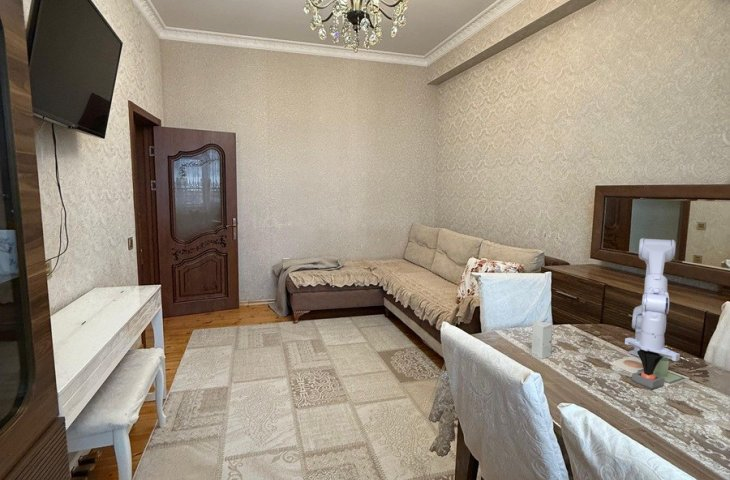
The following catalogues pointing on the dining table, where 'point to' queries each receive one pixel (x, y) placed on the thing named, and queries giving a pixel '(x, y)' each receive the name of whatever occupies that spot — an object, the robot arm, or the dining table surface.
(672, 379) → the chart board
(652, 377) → the button
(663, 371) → the green cup
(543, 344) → the skincare box
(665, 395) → the dining table surface
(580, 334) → the dining table surface
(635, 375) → the button housing
